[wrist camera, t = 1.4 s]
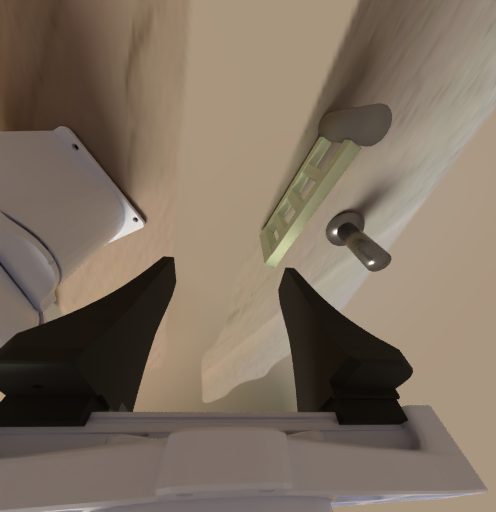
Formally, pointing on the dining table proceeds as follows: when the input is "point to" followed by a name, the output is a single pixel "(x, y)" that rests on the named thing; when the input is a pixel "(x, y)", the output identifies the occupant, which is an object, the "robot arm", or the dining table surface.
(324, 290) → the dining table surface
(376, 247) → the post
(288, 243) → the gate
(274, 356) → the dining table surface
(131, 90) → the dining table surface
